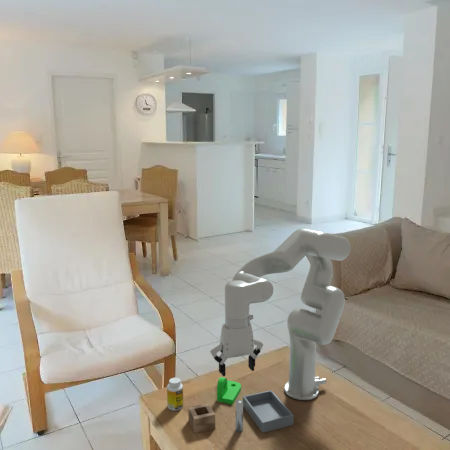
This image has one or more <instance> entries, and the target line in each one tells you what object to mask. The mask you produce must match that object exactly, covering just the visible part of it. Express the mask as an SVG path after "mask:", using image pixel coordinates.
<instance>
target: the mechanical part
mask: <svg viewBox="0 0 450 450" xmlns="http://www.w3.org/2000/svg"><path fill="white" fill-rule="evenodd" d="M241 391H242V385H241V383H240V382H238V381H233V380H228V378H226V377H225V376H220V377H219V378H218V381H217V385H216V402H219V403H225V404H229V405H234V403H236V401H237V398H238V396H239V395H240V392H241Z"/></svg>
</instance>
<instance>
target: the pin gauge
mask: <svg viewBox="0 0 450 450" xmlns="http://www.w3.org/2000/svg"><path fill="white" fill-rule="evenodd" d="M243 431H244V406H243V399H242V400H241V399H236V400H235V432H236V433H242V432H243Z"/></svg>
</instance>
